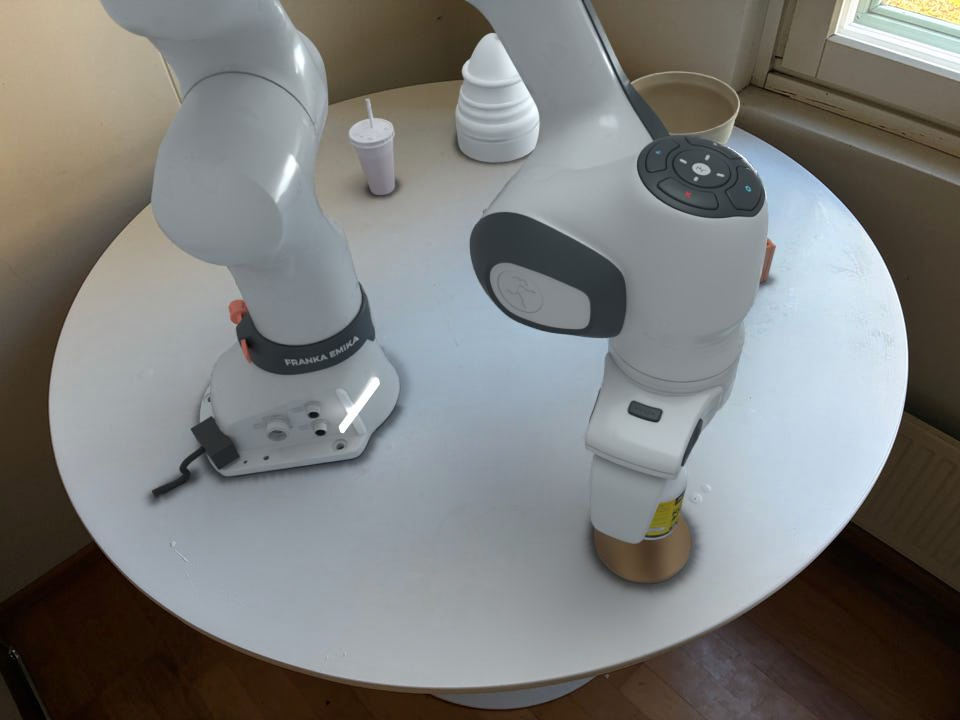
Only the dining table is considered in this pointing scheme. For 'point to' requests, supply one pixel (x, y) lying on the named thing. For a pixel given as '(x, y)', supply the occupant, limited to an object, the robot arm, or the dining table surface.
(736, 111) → the planter bowl
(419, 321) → the dining table surface
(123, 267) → the dining table surface
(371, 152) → the smoothie
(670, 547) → the coaster
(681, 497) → the supplement bottle
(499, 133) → the honey pot
